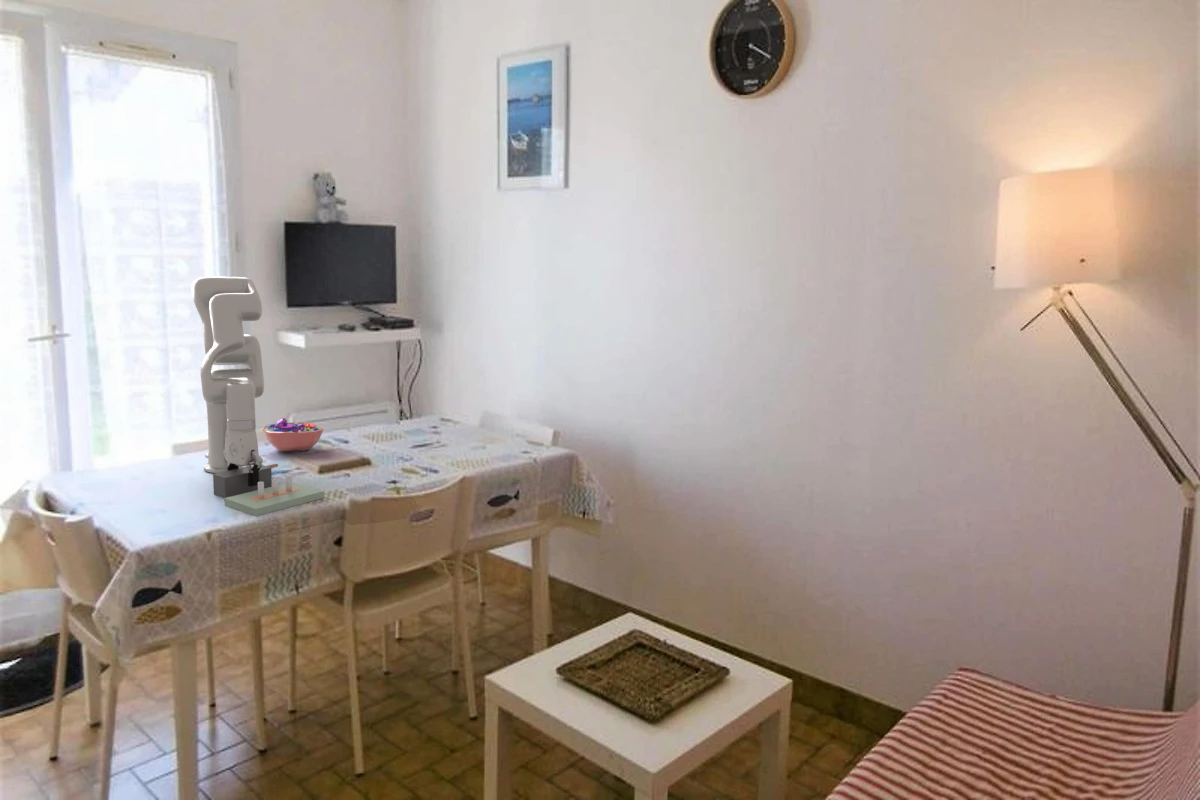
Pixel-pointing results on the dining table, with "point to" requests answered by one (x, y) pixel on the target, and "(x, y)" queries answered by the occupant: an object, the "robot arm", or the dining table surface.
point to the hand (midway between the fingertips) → (243, 482)
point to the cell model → (292, 435)
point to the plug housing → (240, 481)
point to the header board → (274, 497)
